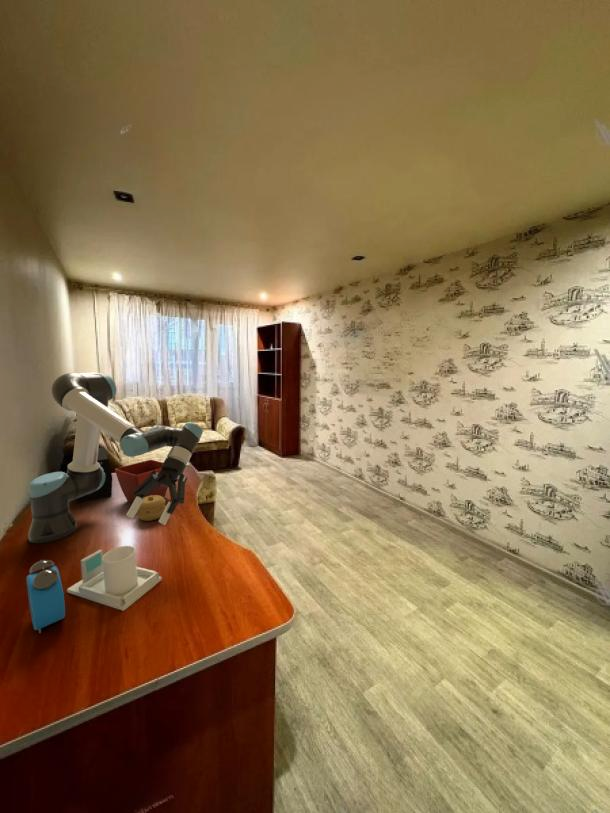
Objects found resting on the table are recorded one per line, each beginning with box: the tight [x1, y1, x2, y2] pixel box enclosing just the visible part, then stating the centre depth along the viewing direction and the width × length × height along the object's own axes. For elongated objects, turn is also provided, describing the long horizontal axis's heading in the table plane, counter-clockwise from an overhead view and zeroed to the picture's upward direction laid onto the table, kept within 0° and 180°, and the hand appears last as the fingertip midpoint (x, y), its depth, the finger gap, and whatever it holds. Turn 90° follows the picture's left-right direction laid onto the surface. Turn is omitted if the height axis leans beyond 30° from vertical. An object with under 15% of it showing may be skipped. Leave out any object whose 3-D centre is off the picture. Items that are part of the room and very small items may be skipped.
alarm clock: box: [26, 559, 66, 634], centre depth 80 cm, size 13×6×15 cm, turn 46°
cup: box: [102, 545, 138, 596], centre depth 93 cm, size 8×12×10 cm
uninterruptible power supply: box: [76, 446, 113, 504], centre depth 170 cm, size 16×34×20 cm, turn 35°
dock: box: [66, 549, 163, 612], centre depth 94 cm, size 22×13×8 cm, turn 70°
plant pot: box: [114, 459, 169, 503], centre depth 157 cm, size 19×19×17 cm
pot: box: [135, 495, 167, 522], centre depth 137 cm, size 12×12×10 cm
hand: (145, 520), depth 101 cm, fingers open, 13 cm apart
